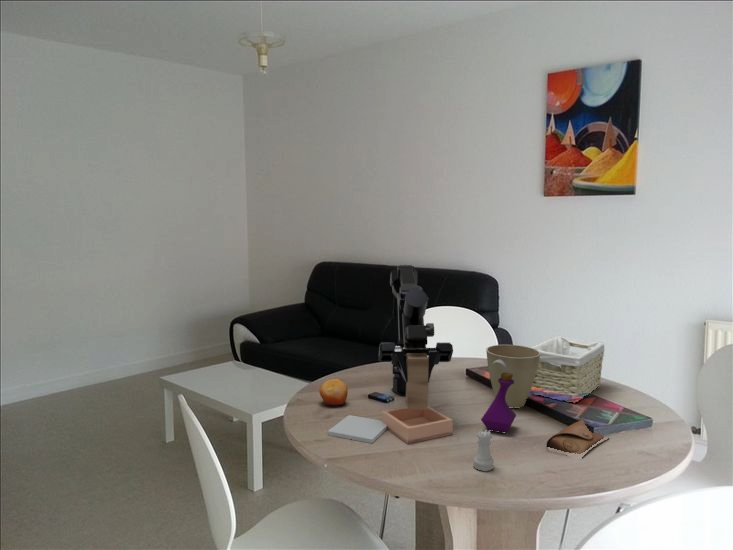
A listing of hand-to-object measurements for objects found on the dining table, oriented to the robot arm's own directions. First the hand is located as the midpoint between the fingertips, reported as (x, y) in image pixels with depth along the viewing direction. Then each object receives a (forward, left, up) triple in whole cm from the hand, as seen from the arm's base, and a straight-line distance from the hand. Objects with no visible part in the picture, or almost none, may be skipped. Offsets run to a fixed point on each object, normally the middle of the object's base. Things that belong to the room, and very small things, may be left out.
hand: (417, 381), depth 136 cm
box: (-1, -1, -13) cm, 13 cm away
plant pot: (-35, -5, -13) cm, 38 cm away
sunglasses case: (-31, +23, -14) cm, 41 cm away
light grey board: (+12, -7, -13) cm, 19 cm away
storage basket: (-59, -7, -13) cm, 61 cm away
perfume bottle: (-20, +8, -13) cm, 25 cm away
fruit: (+10, -28, -13) cm, 33 cm away
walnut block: (-1, -1, -7) cm, 7 cm away
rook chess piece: (-3, +23, -13) cm, 27 cm away
